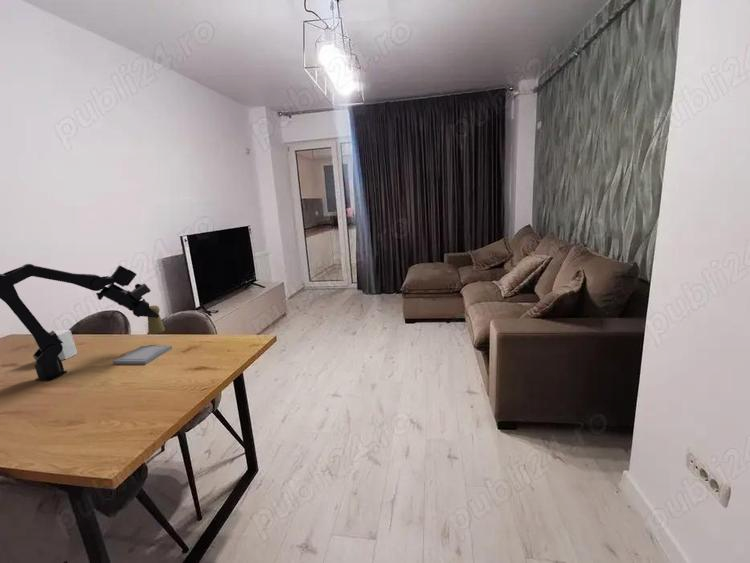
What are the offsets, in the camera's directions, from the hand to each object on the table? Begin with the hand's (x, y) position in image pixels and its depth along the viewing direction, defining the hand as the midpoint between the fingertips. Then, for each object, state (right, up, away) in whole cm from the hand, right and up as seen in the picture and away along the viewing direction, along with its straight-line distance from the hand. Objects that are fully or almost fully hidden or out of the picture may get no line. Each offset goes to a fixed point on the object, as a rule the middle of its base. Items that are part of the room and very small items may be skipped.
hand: (157, 315), depth 153 cm
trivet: (+1, -15, -10) cm, 18 cm away
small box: (-36, -17, -4) cm, 40 cm away
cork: (-1, -7, +1) cm, 7 cm away
